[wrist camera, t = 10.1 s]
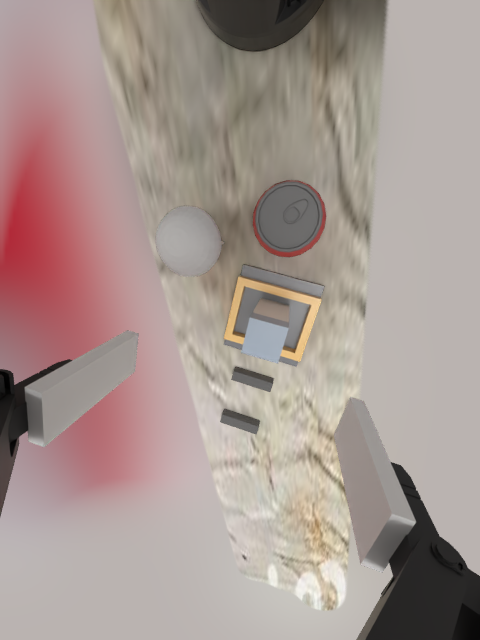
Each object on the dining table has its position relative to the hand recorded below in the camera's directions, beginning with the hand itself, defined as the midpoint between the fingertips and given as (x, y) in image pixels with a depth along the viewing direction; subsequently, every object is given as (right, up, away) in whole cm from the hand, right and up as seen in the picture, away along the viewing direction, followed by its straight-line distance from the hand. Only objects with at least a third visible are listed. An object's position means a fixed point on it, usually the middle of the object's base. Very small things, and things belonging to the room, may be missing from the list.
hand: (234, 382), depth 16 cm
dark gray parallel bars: (+1, -9, +25) cm, 27 cm away
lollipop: (-2, +14, +20) cm, 24 cm away
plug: (+5, +4, +20) cm, 21 cm away
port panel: (+5, +4, +21) cm, 22 cm away
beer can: (+7, +16, +17) cm, 24 cm away
